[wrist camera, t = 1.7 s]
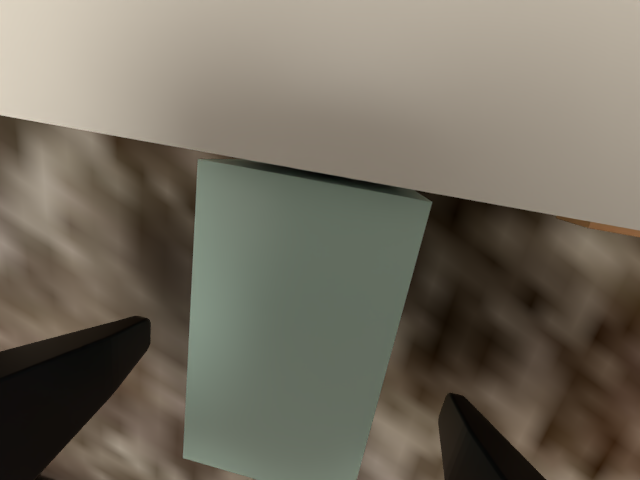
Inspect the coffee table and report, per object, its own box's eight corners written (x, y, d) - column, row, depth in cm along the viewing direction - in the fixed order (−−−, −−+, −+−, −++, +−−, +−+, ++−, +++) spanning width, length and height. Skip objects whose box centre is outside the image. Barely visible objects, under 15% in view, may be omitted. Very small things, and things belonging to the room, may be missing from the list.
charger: (356, 372, 12) (349, 506, 8) (251, 346, 13) (183, 457, 8) (421, 99, 9) (477, 37, 5) (283, 78, 10) (206, 2, 5)
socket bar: (576, 212, 10) (866, 286, 4) (131, 133, 11) (-103, 107, 6) (668, -10, 8) (1377, -409, 2) (129, -67, 10) (-208, -387, 4)
